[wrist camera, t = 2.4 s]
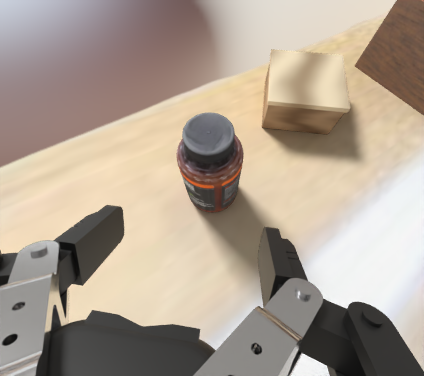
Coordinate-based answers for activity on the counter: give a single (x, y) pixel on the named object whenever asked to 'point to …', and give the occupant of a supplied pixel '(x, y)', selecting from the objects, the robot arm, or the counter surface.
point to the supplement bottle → (210, 161)
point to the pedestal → (305, 91)
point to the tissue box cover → (399, 53)
